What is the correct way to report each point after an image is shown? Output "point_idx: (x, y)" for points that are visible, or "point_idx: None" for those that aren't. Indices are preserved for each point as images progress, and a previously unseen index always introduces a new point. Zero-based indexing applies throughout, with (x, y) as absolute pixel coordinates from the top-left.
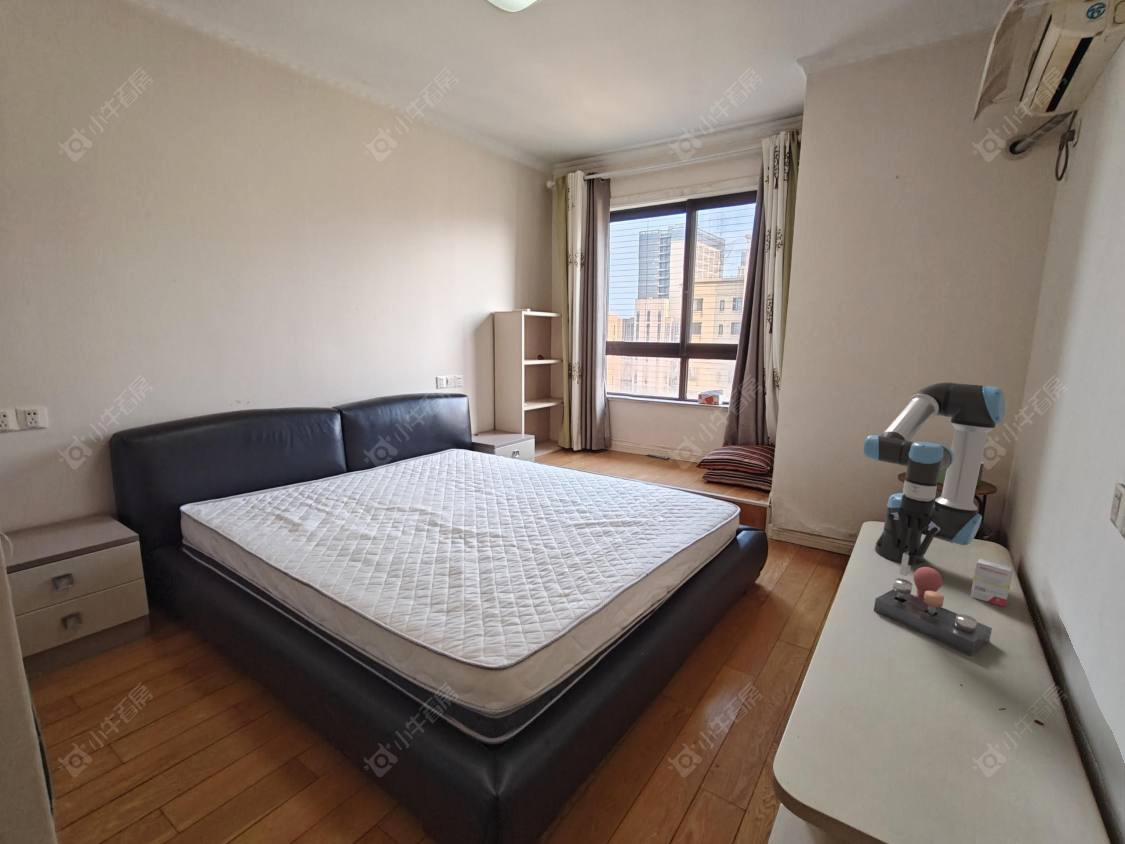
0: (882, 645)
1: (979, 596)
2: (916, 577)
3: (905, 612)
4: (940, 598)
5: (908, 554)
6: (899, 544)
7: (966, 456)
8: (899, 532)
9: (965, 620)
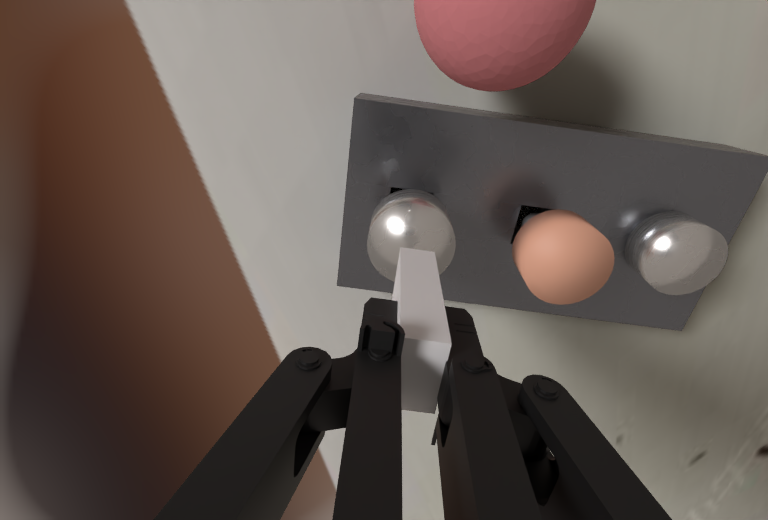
0: (435, 420)
1: None
2: (444, 71)
3: (454, 299)
4: (597, 283)
5: (436, 437)
6: (326, 417)
7: None
8: (252, 509)
9: (680, 281)
